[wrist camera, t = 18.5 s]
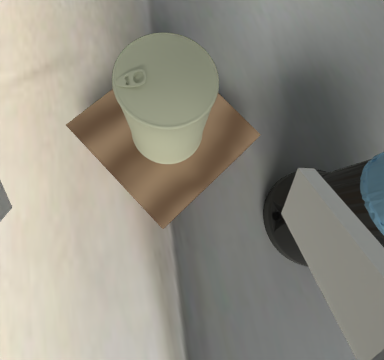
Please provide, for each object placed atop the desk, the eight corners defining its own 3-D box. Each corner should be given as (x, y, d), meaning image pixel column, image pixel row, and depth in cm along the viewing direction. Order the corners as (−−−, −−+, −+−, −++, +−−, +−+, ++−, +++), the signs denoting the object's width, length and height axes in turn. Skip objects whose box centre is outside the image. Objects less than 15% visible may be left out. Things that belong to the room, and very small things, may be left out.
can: (127, 102, 32) (103, 30, 20) (196, 94, 33) (210, 23, 22) (136, 169, 31) (115, 133, 19) (207, 159, 32) (230, 120, 20)
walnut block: (243, 152, 41) (260, 134, 33) (164, 228, 37) (162, 228, 30) (169, 78, 42) (169, 45, 34) (86, 145, 39) (65, 124, 31)
